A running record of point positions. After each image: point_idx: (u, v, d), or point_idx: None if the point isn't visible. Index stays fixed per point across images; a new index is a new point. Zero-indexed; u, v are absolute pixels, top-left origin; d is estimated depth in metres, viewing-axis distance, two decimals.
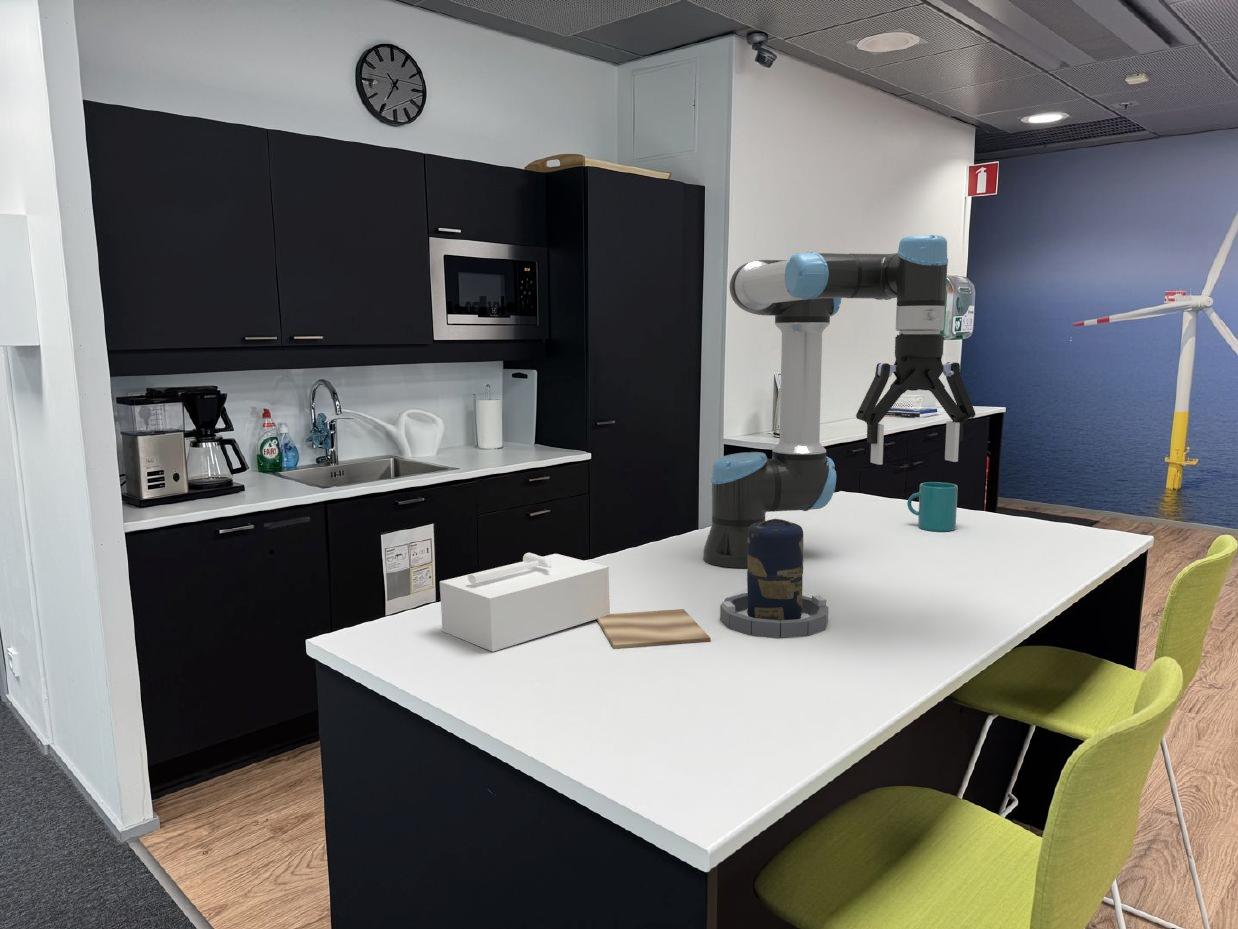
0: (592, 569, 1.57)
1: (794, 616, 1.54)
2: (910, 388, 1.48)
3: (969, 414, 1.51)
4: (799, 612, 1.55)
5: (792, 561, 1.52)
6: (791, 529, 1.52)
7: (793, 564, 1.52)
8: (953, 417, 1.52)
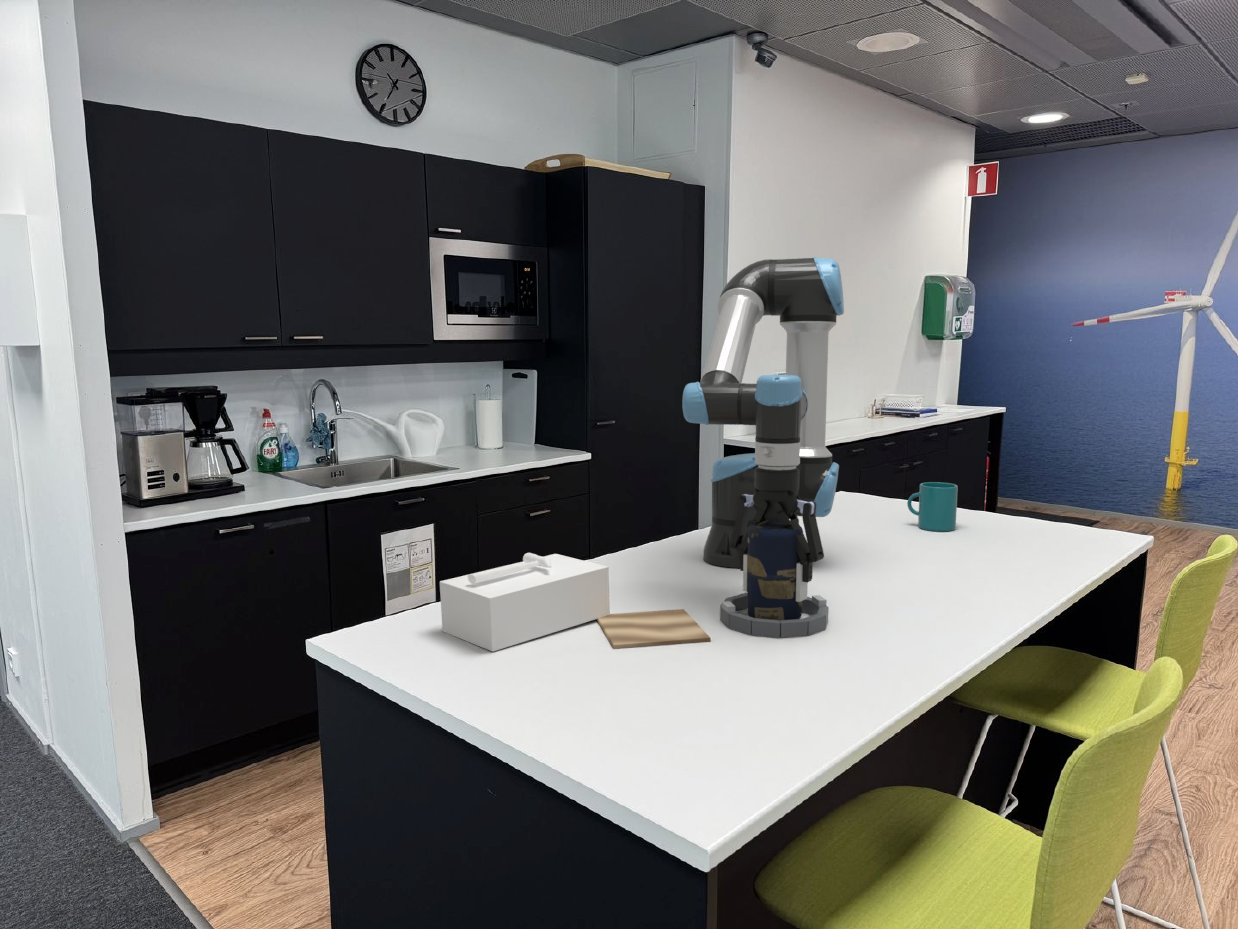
0: (592, 569, 1.57)
1: (794, 616, 1.54)
2: (764, 517, 1.56)
3: (811, 557, 1.51)
4: (799, 612, 1.55)
5: (792, 561, 1.52)
6: (791, 529, 1.52)
7: (793, 564, 1.52)
8: None
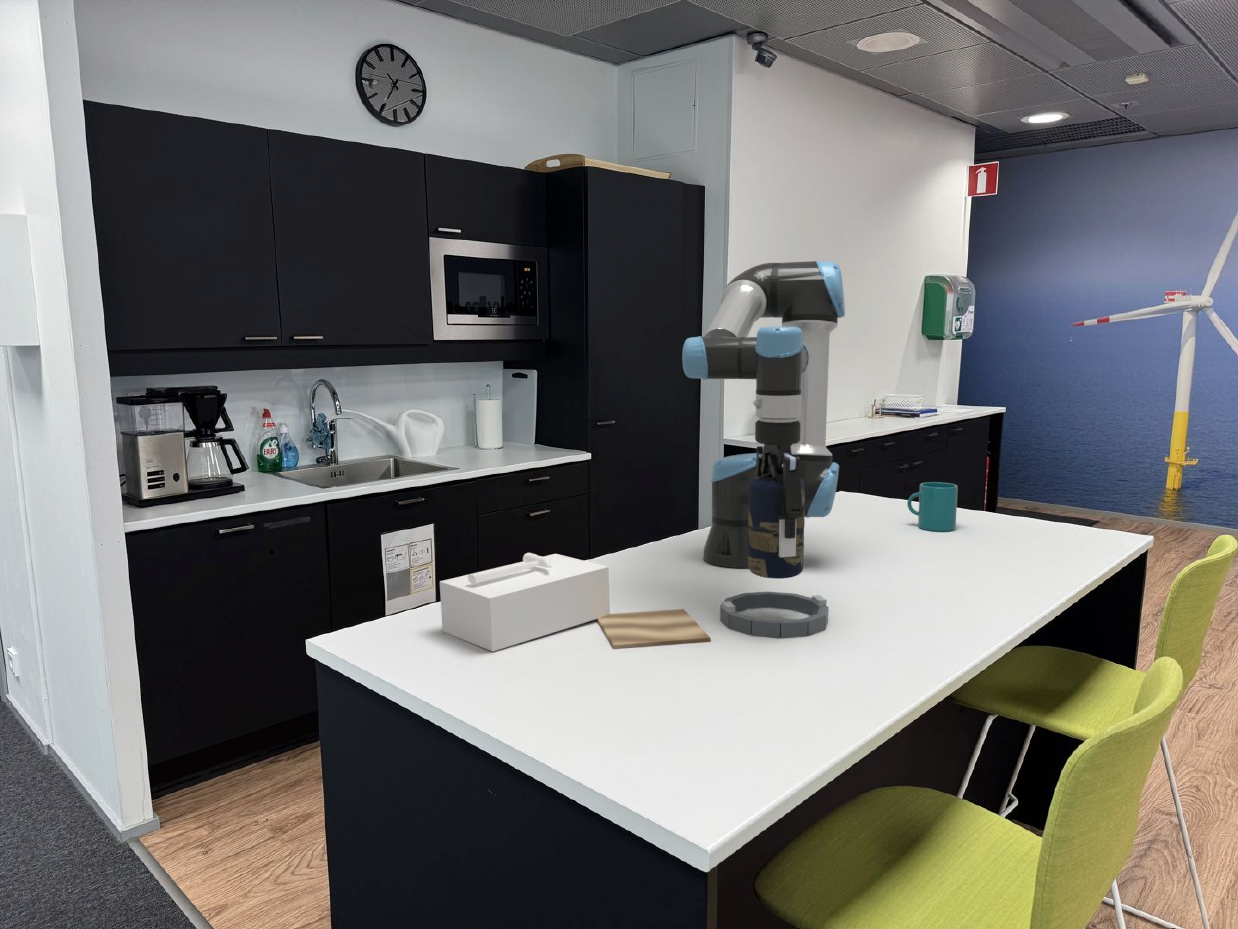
0: (592, 569, 1.57)
1: (778, 571, 1.52)
2: (768, 470, 1.56)
3: (786, 513, 1.48)
4: (787, 568, 1.52)
5: (776, 515, 1.51)
6: None
7: (777, 518, 1.51)
8: None
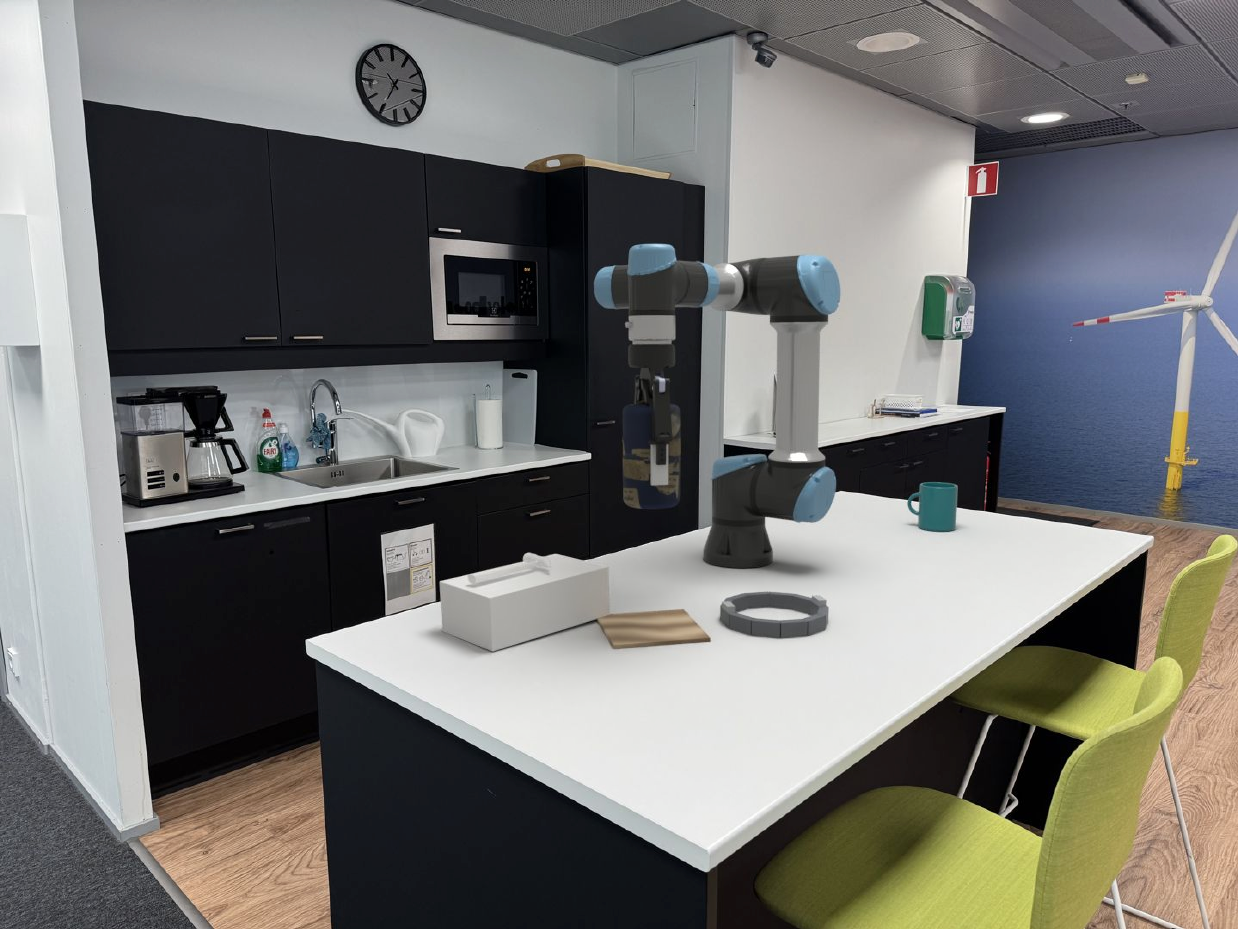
0: (592, 569, 1.57)
1: (651, 501, 1.46)
2: (643, 397, 1.49)
3: None
4: (660, 498, 1.46)
5: (647, 440, 1.44)
6: (649, 407, 1.44)
7: (648, 444, 1.44)
8: None
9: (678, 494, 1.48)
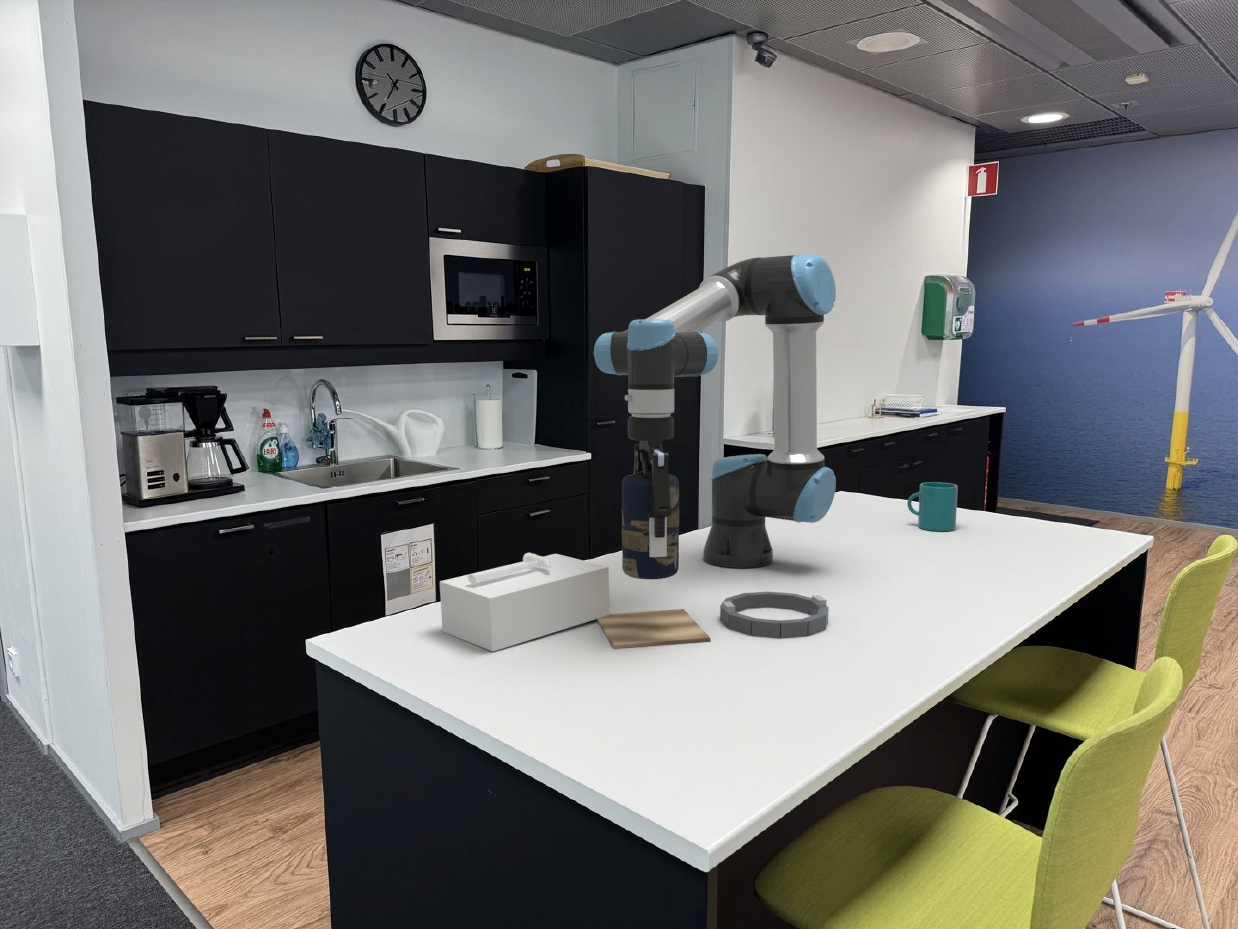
0: (592, 569, 1.57)
1: (649, 572, 1.47)
2: (642, 467, 1.51)
3: (654, 510, 1.43)
4: (659, 569, 1.47)
5: (646, 513, 1.46)
6: (648, 479, 1.46)
7: None
8: None
9: (676, 564, 1.50)
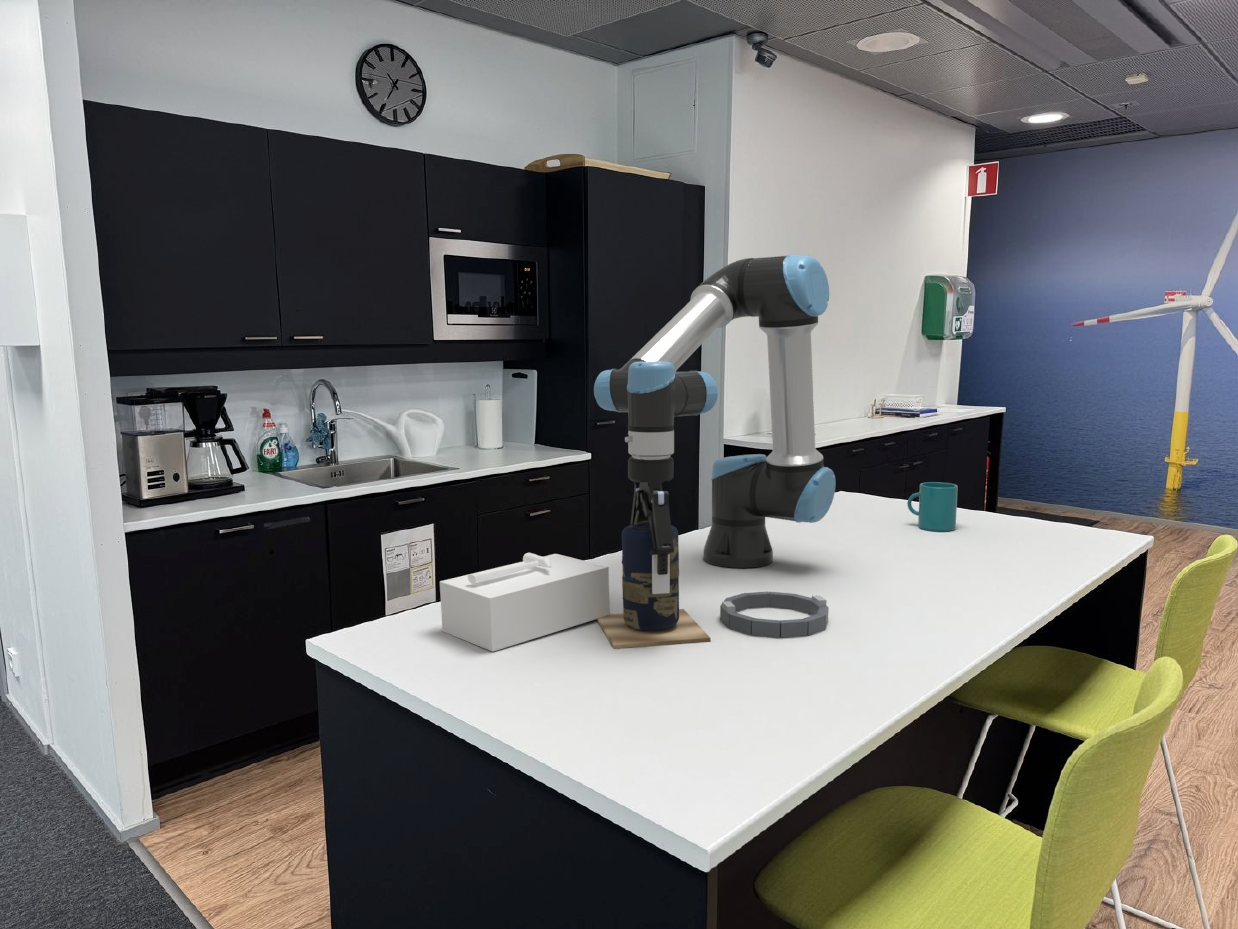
0: (592, 569, 1.57)
1: (650, 623, 1.48)
2: (642, 508, 1.52)
3: (657, 548, 1.42)
4: (659, 620, 1.49)
5: (646, 565, 1.47)
6: (648, 532, 1.47)
7: (647, 569, 1.47)
8: None
9: (677, 614, 1.51)
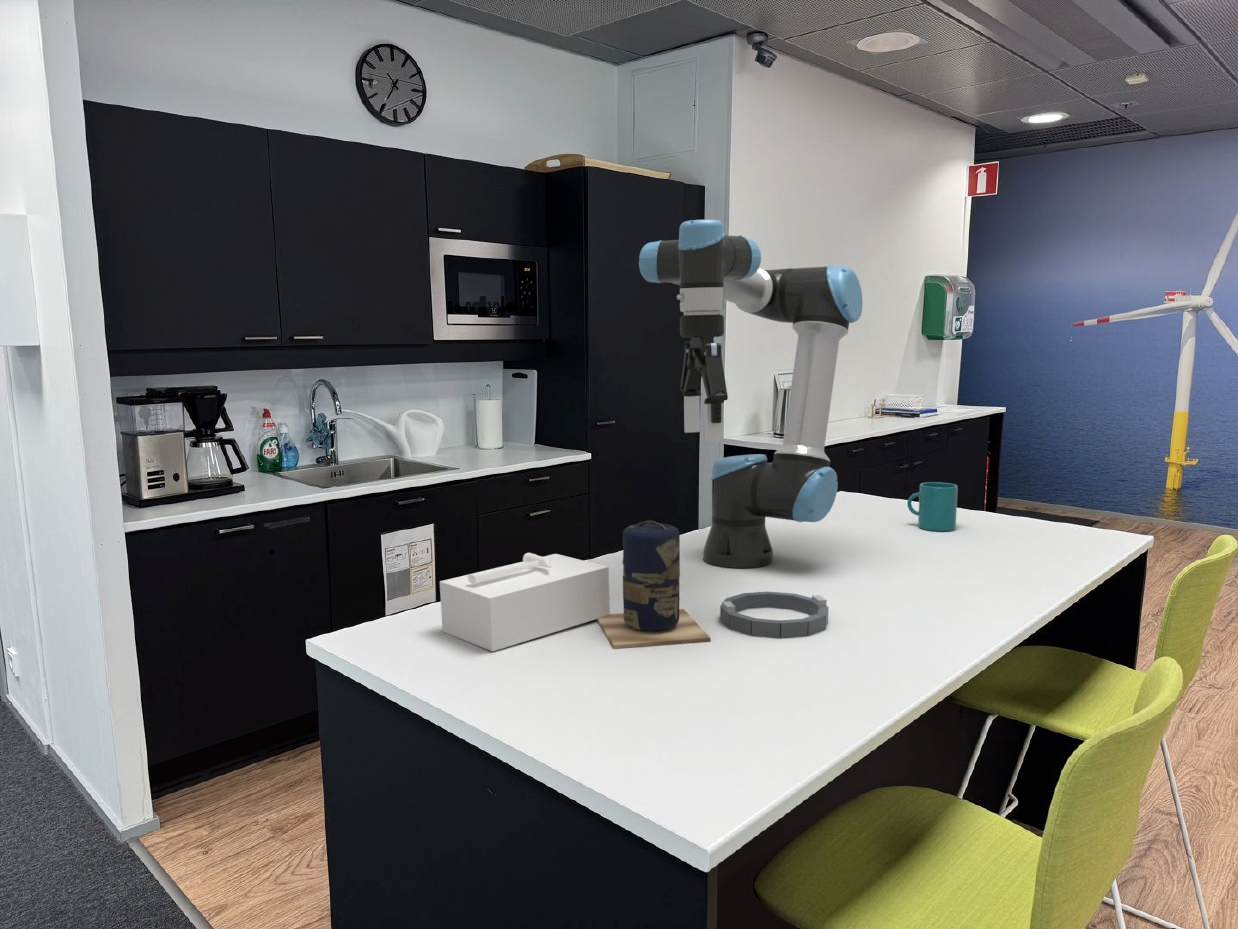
0: (592, 569, 1.57)
1: (650, 623, 1.48)
2: (694, 365, 1.58)
3: None
4: (659, 620, 1.49)
5: (647, 565, 1.47)
6: (649, 532, 1.47)
7: (648, 569, 1.47)
8: None
9: (677, 615, 1.51)
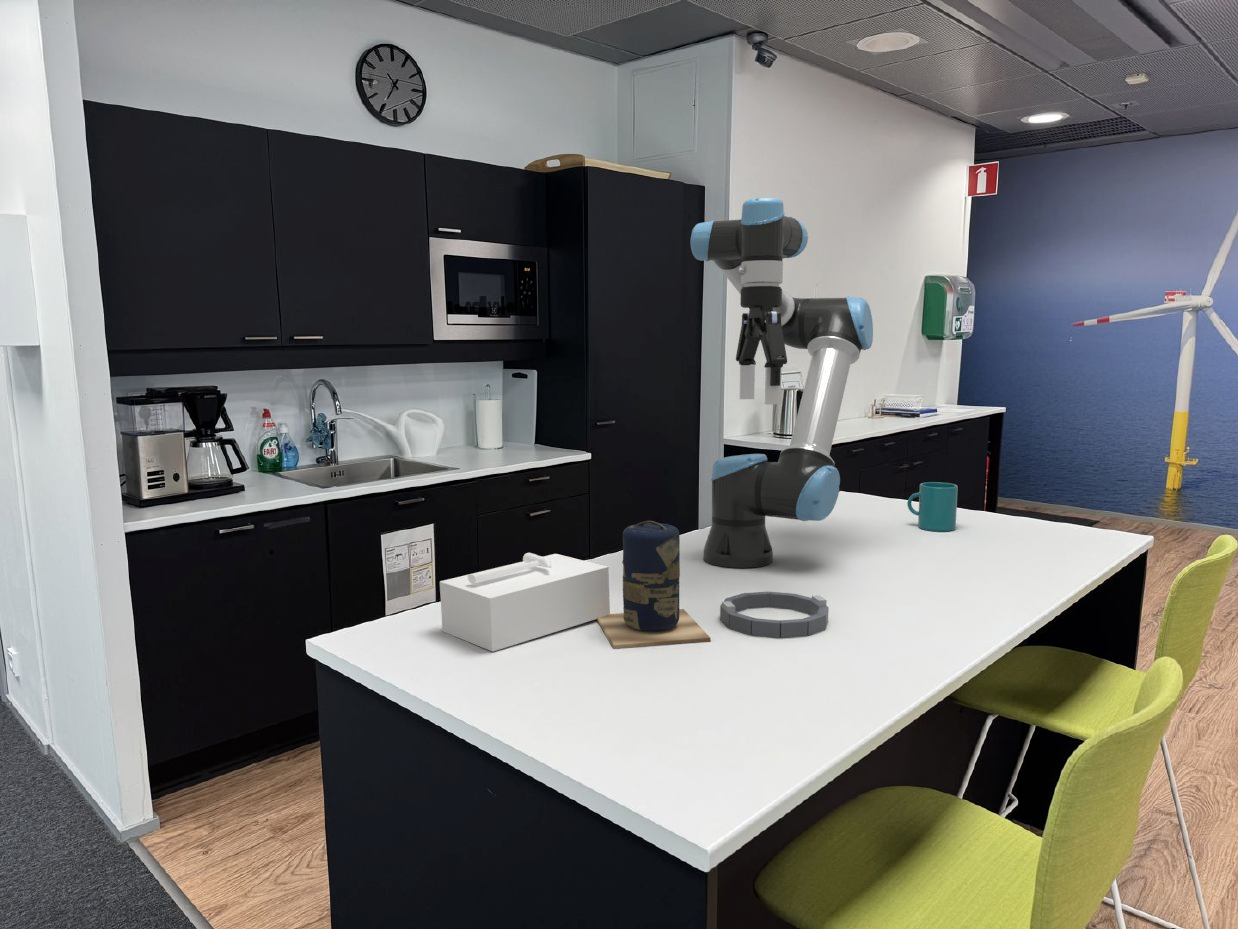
0: (592, 569, 1.57)
1: (650, 623, 1.48)
2: (752, 335, 1.69)
3: (771, 360, 1.60)
4: (659, 621, 1.49)
5: (646, 566, 1.47)
6: (649, 532, 1.47)
7: (648, 569, 1.47)
8: None
9: (677, 615, 1.51)
